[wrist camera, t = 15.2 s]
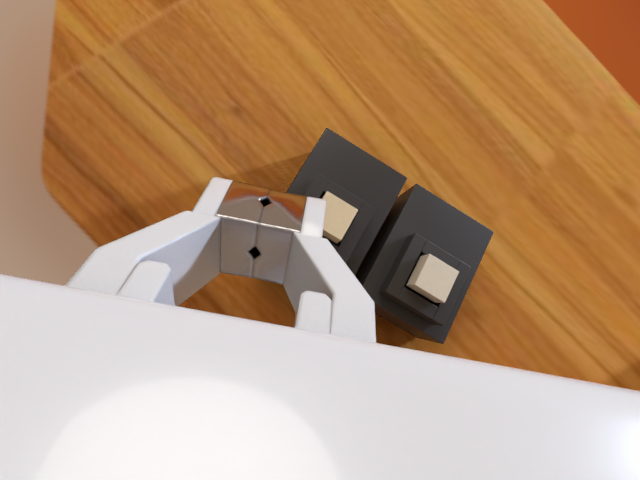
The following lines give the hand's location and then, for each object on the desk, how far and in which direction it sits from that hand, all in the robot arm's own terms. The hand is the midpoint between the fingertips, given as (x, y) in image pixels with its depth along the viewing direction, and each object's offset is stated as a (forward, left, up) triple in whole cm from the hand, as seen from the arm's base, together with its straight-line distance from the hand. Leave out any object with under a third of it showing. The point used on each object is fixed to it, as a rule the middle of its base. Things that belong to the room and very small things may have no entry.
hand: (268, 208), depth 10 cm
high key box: (+9, -3, -26) cm, 28 cm away
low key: (+7, -13, -20) cm, 25 cm away
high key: (+7, -3, -20) cm, 21 cm away
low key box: (+9, -13, -26) cm, 31 cm away
